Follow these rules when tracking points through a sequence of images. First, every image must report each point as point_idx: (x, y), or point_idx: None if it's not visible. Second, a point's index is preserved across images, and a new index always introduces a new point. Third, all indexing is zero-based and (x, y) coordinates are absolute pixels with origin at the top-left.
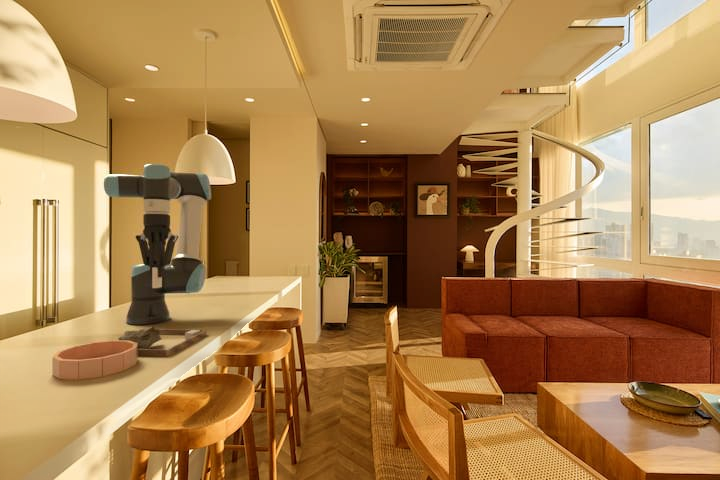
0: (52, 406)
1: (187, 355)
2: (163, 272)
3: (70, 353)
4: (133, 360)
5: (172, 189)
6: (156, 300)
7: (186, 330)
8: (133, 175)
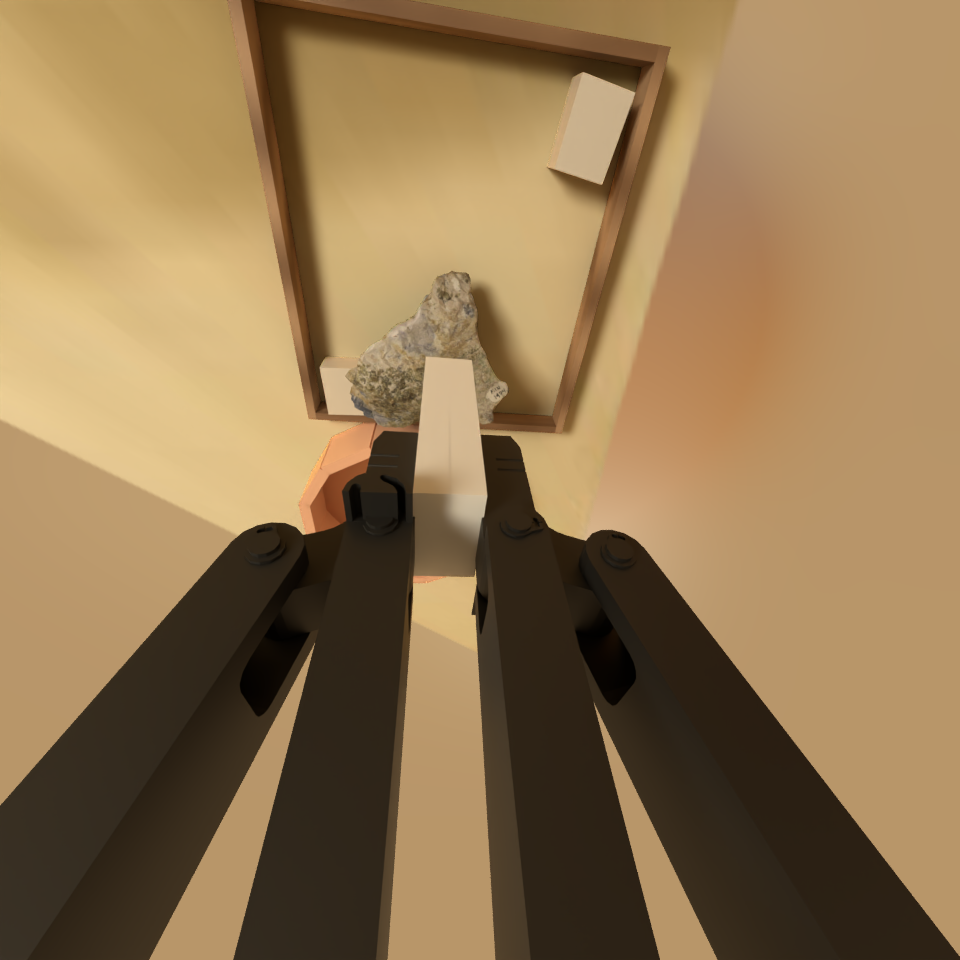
0: (470, 614)
1: (614, 411)
2: (522, 480)
3: (316, 508)
4: None
5: None
6: None
7: (533, 40)
8: None
